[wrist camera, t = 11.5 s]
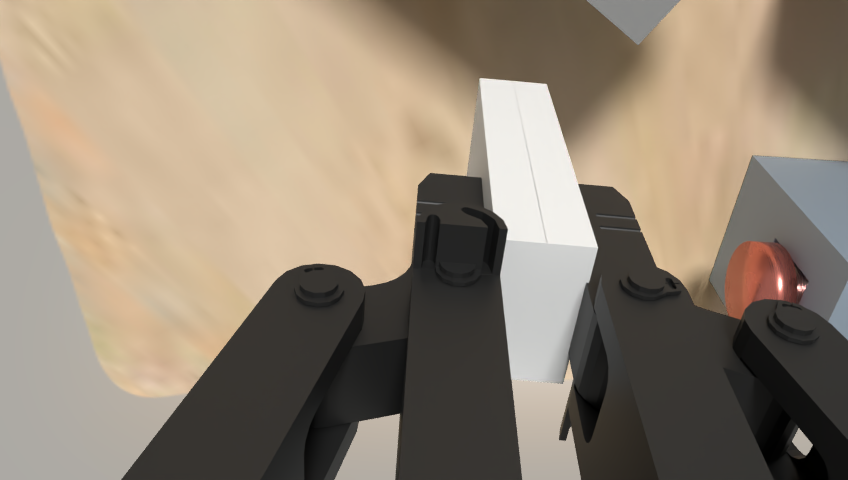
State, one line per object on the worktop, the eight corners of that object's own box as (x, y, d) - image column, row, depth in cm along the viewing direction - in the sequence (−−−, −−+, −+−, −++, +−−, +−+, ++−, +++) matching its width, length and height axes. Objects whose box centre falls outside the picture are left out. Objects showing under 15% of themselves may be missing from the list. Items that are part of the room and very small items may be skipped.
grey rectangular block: (709, 279, 53) (785, 411, 42) (752, 155, 47) (853, 268, 36) (816, 285, 53) (919, 417, 42) (871, 163, 48) (1006, 277, 37)
